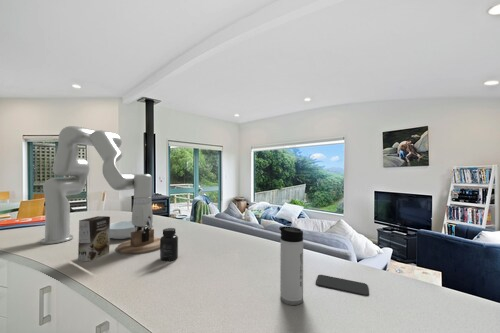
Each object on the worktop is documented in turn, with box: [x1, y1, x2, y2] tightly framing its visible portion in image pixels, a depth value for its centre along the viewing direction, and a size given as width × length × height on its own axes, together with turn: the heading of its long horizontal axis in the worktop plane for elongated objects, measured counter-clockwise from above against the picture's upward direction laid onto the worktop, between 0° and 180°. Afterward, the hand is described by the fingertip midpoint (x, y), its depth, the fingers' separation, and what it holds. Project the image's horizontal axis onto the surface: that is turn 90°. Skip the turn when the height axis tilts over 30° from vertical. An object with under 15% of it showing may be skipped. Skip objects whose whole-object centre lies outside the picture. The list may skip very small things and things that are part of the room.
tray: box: [114, 246, 160, 256], centre depth 105 cm, size 22×22×1 cm
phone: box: [315, 274, 370, 297], centre depth 71 cm, size 7×1×15 cm
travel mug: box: [279, 225, 304, 306], centre depth 64 cm, size 6×7×20 cm
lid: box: [117, 228, 161, 255], centre depth 105 cm, size 20×20×7 cm
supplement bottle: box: [159, 227, 179, 263], centre depth 91 cm, size 7×7×12 cm
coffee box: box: [77, 215, 111, 262], centre depth 93 cm, size 9×6×16 cm
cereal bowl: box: [110, 220, 135, 240], centre depth 120 cm, size 17×17×7 cm
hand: (142, 240), depth 105 cm, fingers closed on lid, 4 cm apart
